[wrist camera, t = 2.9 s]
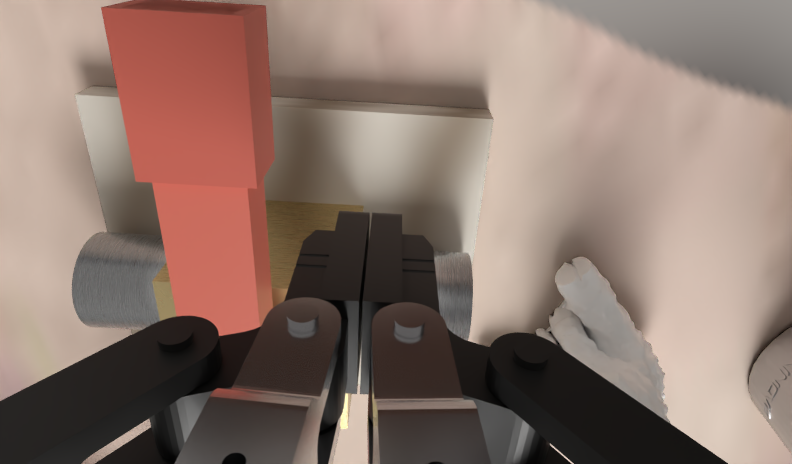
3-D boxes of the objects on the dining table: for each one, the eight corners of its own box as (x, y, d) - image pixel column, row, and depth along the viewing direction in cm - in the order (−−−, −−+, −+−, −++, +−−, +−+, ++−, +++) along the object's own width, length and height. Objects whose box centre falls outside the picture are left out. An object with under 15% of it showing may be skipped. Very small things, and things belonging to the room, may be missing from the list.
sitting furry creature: (573, 244, 28) (674, 431, 17) (694, 313, 30) (851, 519, 19) (469, 361, 32) (500, 571, 21) (582, 415, 34) (661, 631, 23)
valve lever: (304, 402, 21) (288, 473, 18) (214, 398, 21) (184, 468, 18) (287, 1, 14) (257, 16, 11) (151, -7, 14) (86, 6, 11)
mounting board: (489, 109, 24) (493, 119, 23) (452, 371, 32) (453, 389, 31) (92, 86, 24) (74, 94, 23) (152, 354, 32) (141, 372, 31)
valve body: (469, 211, 25) (489, 300, 19) (453, 328, 28) (465, 435, 22) (108, 190, 25) (10, 273, 19) (135, 310, 28) (60, 413, 22)
